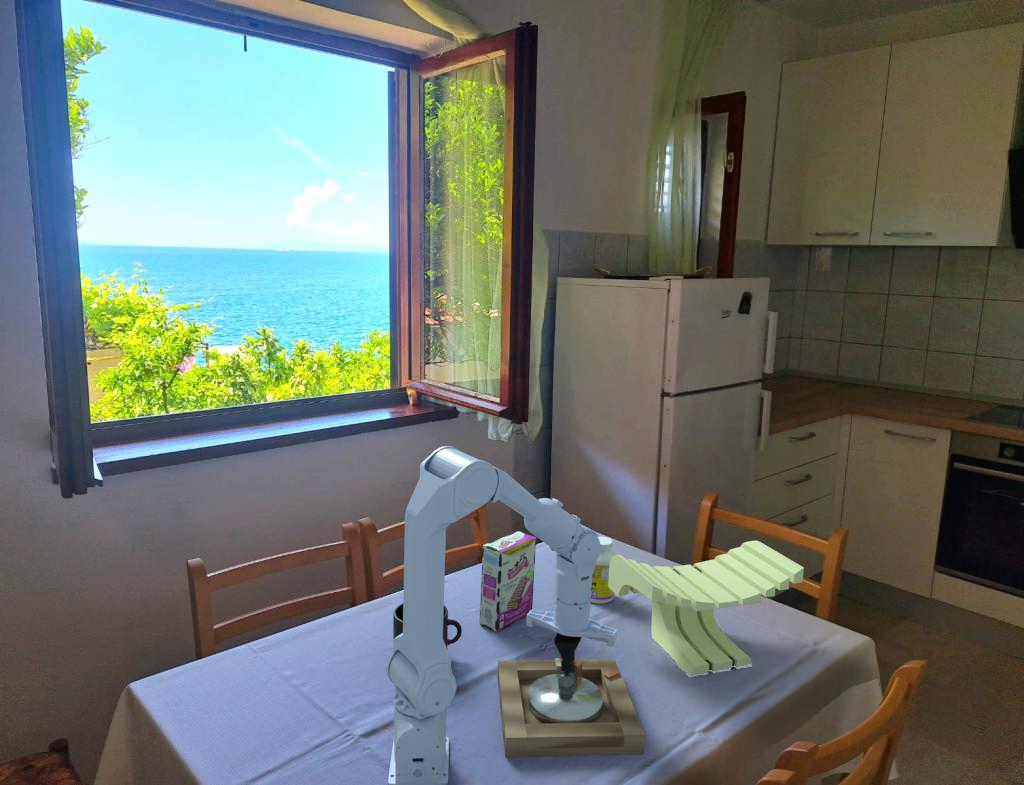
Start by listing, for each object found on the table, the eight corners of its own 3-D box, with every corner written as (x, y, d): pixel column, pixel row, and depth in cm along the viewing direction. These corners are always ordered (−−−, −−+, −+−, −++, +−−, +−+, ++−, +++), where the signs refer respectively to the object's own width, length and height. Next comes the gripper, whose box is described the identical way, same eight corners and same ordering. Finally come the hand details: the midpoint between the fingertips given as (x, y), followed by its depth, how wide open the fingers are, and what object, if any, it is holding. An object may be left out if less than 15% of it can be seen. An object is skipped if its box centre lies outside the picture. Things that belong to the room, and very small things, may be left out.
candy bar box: (498, 634, 134) (500, 552, 131) (478, 625, 137) (480, 544, 135) (534, 613, 143) (537, 535, 140) (515, 605, 146) (517, 529, 143)
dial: (586, 737, 103) (587, 705, 102) (515, 712, 108) (516, 682, 108) (612, 695, 113) (614, 667, 113) (546, 675, 119) (547, 647, 118)
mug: (465, 670, 122) (466, 621, 120) (395, 676, 119) (395, 627, 118) (457, 641, 131) (458, 596, 129) (391, 647, 128) (391, 601, 127)
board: (643, 753, 102) (645, 731, 102) (505, 757, 101) (505, 734, 100) (613, 675, 122) (614, 656, 121) (497, 676, 120) (498, 657, 120)
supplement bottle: (576, 593, 152) (579, 536, 150) (603, 588, 155) (606, 532, 153) (593, 607, 146) (596, 548, 144) (620, 601, 149) (623, 543, 147)
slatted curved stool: (740, 618, 143) (748, 534, 140) (793, 660, 128) (803, 567, 125) (605, 637, 134) (610, 548, 131) (645, 684, 119) (652, 585, 116)
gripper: (623, 595, 113) (618, 672, 116) (538, 577, 118) (535, 651, 121) (612, 615, 106) (607, 696, 109) (522, 595, 112) (519, 673, 114)
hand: (568, 674), depth 115 cm, fingers closed, pressing on dial
